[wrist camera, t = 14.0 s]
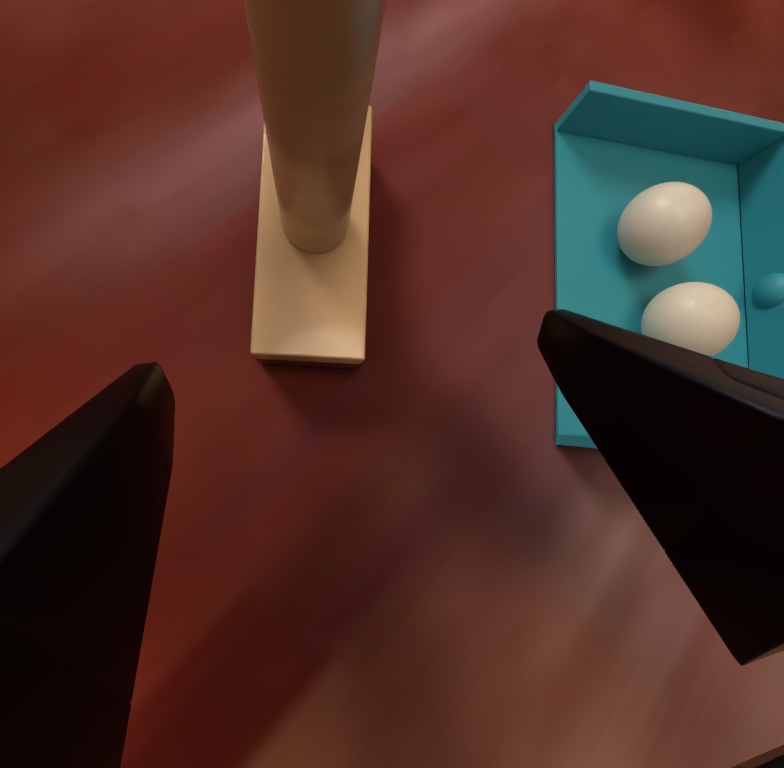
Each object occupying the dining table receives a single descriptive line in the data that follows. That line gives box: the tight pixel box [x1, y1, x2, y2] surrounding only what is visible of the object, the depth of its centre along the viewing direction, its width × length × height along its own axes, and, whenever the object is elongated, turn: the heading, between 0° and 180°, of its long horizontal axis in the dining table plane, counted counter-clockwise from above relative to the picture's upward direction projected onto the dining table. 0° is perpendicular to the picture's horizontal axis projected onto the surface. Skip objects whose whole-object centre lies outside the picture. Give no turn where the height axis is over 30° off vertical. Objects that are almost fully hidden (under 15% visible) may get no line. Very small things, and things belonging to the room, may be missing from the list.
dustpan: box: [554, 81, 784, 449], centre depth 20 cm, size 18×16×3 cm
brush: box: [244, 0, 386, 369], centre depth 11 cm, size 4×10×13 cm, turn 179°
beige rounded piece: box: [641, 282, 740, 357], centre depth 18 cm, size 4×4×4 cm
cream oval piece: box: [617, 182, 712, 266], centre depth 18 cm, size 4×4×4 cm
